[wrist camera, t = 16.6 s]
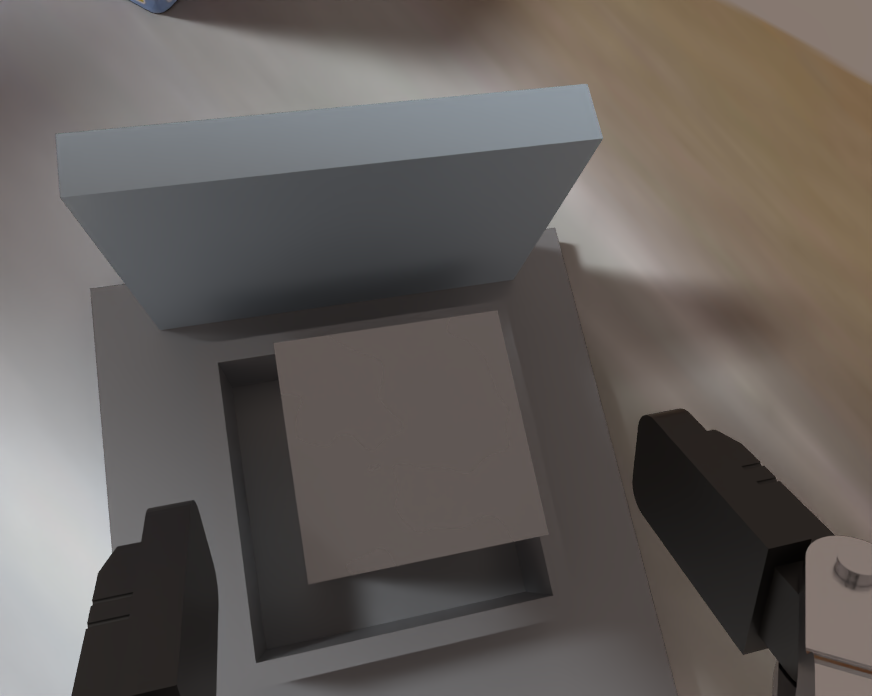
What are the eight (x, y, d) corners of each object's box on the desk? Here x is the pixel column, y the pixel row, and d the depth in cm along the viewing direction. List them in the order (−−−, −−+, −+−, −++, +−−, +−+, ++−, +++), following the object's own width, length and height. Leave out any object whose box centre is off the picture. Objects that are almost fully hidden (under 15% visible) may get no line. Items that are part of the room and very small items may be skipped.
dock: (145, 827, 21) (-19, 1057, 11) (99, 299, 25) (-49, 133, 15) (664, 692, 23) (890, 780, 14) (547, 239, 27) (660, 68, 18)
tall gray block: (319, 574, 22) (308, 584, 13) (298, 433, 23) (273, 343, 14) (459, 545, 23) (548, 534, 13) (432, 410, 24) (497, 310, 14)
